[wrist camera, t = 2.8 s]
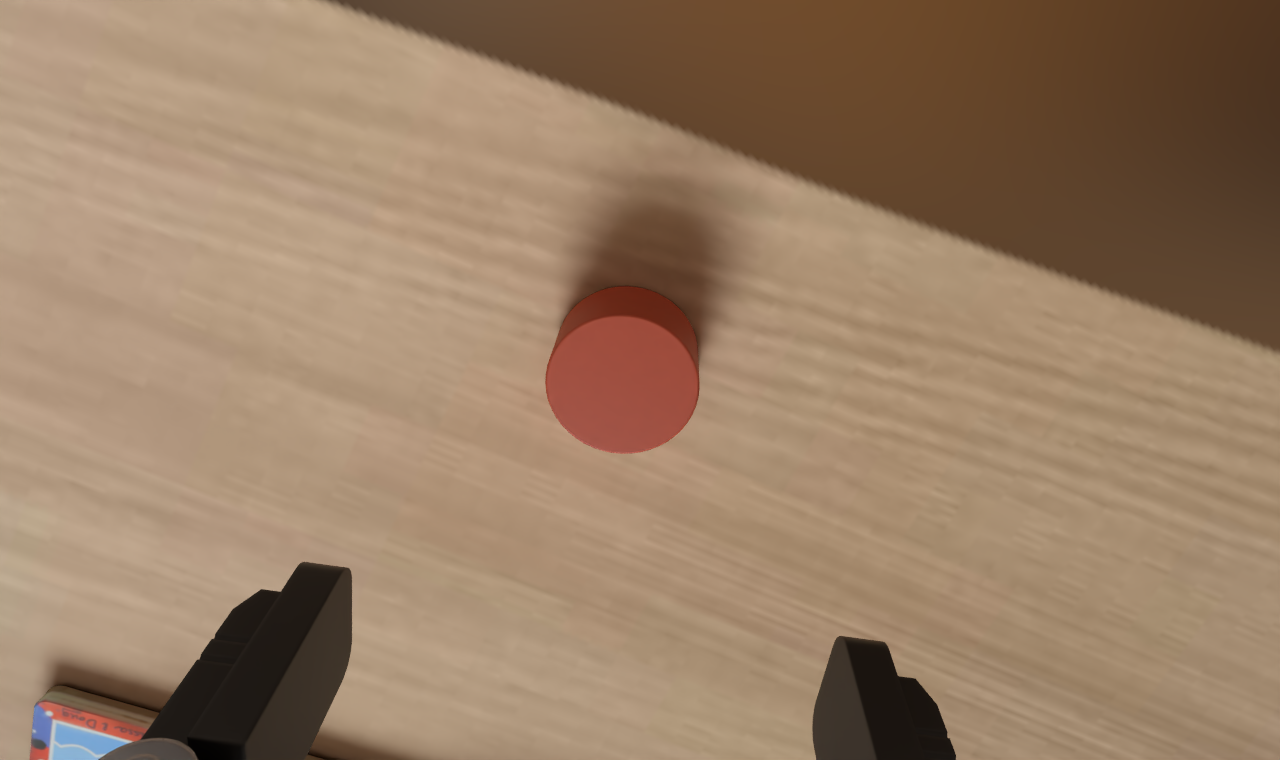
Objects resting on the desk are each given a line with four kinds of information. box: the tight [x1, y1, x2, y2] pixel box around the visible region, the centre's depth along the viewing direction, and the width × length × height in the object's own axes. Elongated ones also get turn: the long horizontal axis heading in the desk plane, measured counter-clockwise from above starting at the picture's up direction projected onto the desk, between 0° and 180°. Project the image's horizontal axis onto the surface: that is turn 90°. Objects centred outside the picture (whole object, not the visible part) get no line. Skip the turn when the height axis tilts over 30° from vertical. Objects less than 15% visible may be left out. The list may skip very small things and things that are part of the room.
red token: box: [546, 286, 699, 454], centre depth 24 cm, size 4×4×2 cm
